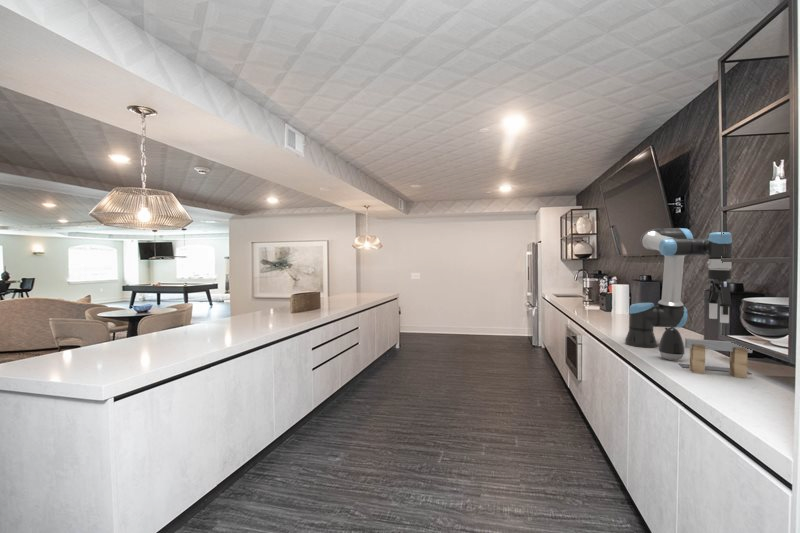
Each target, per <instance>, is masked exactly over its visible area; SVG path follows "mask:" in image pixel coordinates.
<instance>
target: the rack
mask: <svg viewBox="0 0 800 533" xmlns="http://www.w3.org/2000/svg"><path fill="white" fill-rule="evenodd" d="M748 354H749V353H748V349H742V348H734V352H733V351H729V368H730V371H729V372H728V373H729V374H730V375H732V376H733V377H734V378H744V379H747V378H748V374H747V371H748ZM689 364H690V365H689V371H691V373H693V374H701V375H702V374H703V375H705V374H706V373H705V372H706V370H705V366H706V349H705V346H702V345H693V348H689Z"/></svg>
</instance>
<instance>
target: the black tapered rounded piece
mask: <svg viewBox="0 0 800 533" xmlns="http://www.w3.org/2000/svg"><path fill="white" fill-rule="evenodd" d="M664 329H665V330H664V332H663V333H662V336H661V338H660V341H659V346H658V352H659V355H660V356H661V357H662V358H663V359H665V360H666V361H671V362H673V361H674V362H676V361H677V362H678V361H680V360H682V358H684V355H685V352H686V351H685V350H686V349H685V344H684V339H683V338H682V335H681V332H680V331H679V330H678V329H677V328H671V327H664Z"/></svg>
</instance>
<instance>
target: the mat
mask: <svg viewBox="0 0 800 533" xmlns="http://www.w3.org/2000/svg"><path fill="white" fill-rule="evenodd" d="M678 365H679V366H680V367H681V368H682V369H687V370H688V369H689V365H690V363H680V362H679V363H678ZM705 371H711V372H720V373H721V372H723V373H729V371H730V367H724V366H723V367H722V366H721V367H720V366H711V365H705ZM747 375H753V373H752V372H750V371H749V370H747Z"/></svg>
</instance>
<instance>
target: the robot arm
mask: <svg viewBox="0 0 800 533" xmlns="http://www.w3.org/2000/svg"><path fill="white" fill-rule="evenodd" d="M721 232H722V237H721ZM723 233H724V234H723ZM639 241H640V244H641V246H642V247H643V248H645V249H646V250H651V251H659V254H660V255H662V256H663V257H664V264H663V278H662V286H661V287H662V289H661V299H660V300H659V301H658V302H657V305H655V303H654V302H638V303H632V304H630V306H629V311H628V314H629V315H628V316H629V318H628V319H629V321H628V322H629V323H628V332H627V334H626V336H625V340H624V342H625V343H626V344H625V343H624V344H625V345H627V344H628V346H631V345H632V346H633V347H638V348H657V346H658V343H657V339H656V336H655V332H654V328H657V327H658V328H675V329H677V328H678V329H679V328H683V327H684V326H685V325H686V324H687V321H688V317H689V316H688V315H689V314H688V309H687V307H685V306H684V305H685V304H684V303H683V302H682V301H681V297H682V287H683V275H684V274H683V273H684V262H685V261H684V260H685V257H686V256H687V257H690V256H691V257H692V256H694V257H695V256H697V257H700V256H701V257H708V261H706V264H707V265H708V267H707V268H708V271H707V278H708V279H709V280H710V282H709V291H708V296H707V302H708V304H709V305H708V307H709V309H708V318H709V320H710V319H712V320H717V319H718V309H719V323H723V324H730V307H732V304H733V303H732V298H731V290H730V282H729V281H726V280H731V279H732V271H731V269H732V267H733V266H732V264H733V263H732V262H733V261H732V262H723V263H722V261H721V256H722V258H731V259H732V252H733V251H732V248H733V247H732V246H733V239H732V233H731V232H728V231H727V232H726V231H719V232H711V233H709V234H708V238H694V236H693V234H692V231H691V230H690V229H688V228H683V227H682V228H681V227H674V228H673V227H671V228H661V227H660V228H652V229H649V230H647V231H645V232H644V233H643V234H642V235H641V236H640V240H639ZM723 246H725V254H724V253H723ZM726 247H727V253H726ZM718 300H719V301H720V303H719V301H718ZM718 304H719V307H720V308H718ZM632 346H631V347H632Z"/></svg>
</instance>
